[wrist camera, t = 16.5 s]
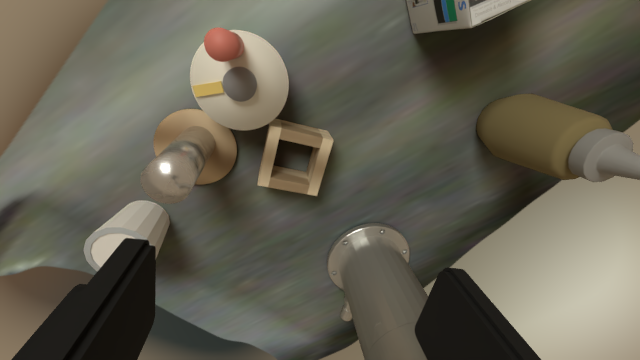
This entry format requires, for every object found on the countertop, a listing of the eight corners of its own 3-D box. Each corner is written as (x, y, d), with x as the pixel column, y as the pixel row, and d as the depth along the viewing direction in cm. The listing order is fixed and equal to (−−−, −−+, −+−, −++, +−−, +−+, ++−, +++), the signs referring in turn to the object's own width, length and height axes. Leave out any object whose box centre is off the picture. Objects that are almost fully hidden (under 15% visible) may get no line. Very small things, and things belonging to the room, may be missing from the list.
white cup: (177, 200, 37) (157, 232, 30) (172, 245, 39) (153, 283, 33) (115, 191, 35) (81, 223, 29) (115, 238, 38) (83, 276, 31)
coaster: (230, 188, 37) (230, 190, 37) (153, 174, 35) (151, 176, 34) (242, 119, 34) (242, 120, 33) (158, 99, 32) (156, 100, 31)
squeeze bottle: (479, 161, 41) (615, 237, 25) (458, 114, 37) (599, 166, 21) (532, 127, 40) (711, 182, 23) (515, 75, 36) (709, 99, 20)
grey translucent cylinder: (196, 164, 35) (165, 211, 25) (172, 138, 33) (129, 178, 23) (222, 146, 34) (201, 187, 24) (199, 119, 33) (167, 151, 23)
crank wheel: (210, 133, 31) (192, 158, 24) (180, 38, 27) (149, 36, 20) (295, 118, 31) (301, 138, 24) (278, 24, 27) (279, 16, 21)
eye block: (312, 182, 38) (316, 196, 35) (259, 171, 37) (257, 185, 33) (327, 130, 36) (333, 140, 32) (270, 117, 34) (270, 125, 31)
